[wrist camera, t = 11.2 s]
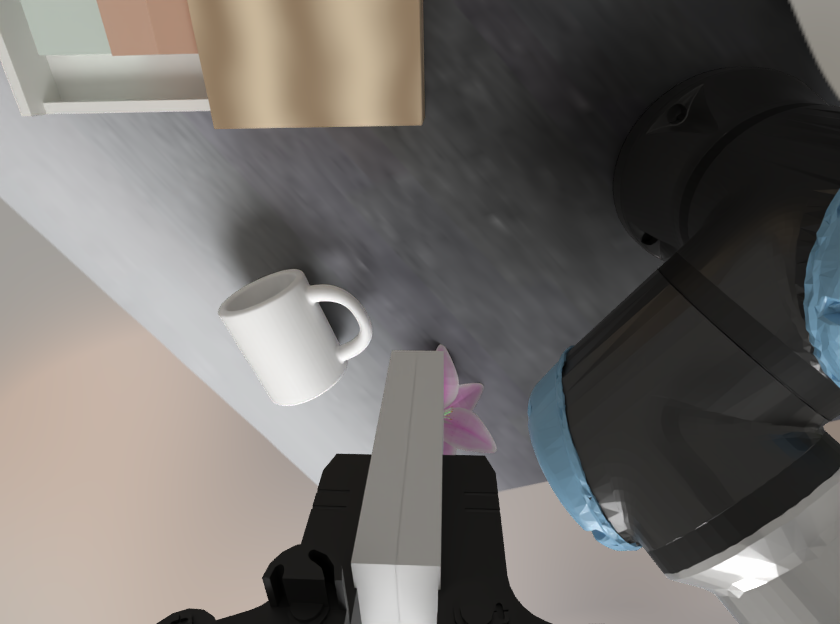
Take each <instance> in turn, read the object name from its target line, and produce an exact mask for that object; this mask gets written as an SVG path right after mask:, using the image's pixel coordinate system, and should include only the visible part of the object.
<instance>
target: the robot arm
mask: <svg viewBox="0 0 840 624" xmlns="http://www.w3.org/2000/svg"><path fill="white" fill-rule="evenodd" d="M613 195H614V202H615V207H616V211H617V214H618V216H619V219H620V221H621V223H622V225H623V226H624V228H625V229H626V231H627V232H628V233H629V234H630V236H631V237H632V238H633V239H634V240H635V241H636V242H637V243H638V244H639V245H640V246H641V247H643V248H644V249H645V250H646V251H647V252H649V253H650V254H652V255H653V256H655V257H657V258H659V259H661V260H663V261H665V263H664V264H663V265H662V266H661V267H660V268H659V269H657V270H656V271H655V272H654V273H653V274H652V275H651V276H650V277H648V278H647V279H646V280H645V281H644V282H643V283H642V284H641V285H640V286H639V287H638V288H637V289H635V290H634V291H633V292H632V293H631V294H630V295H629V296H628V297H627V298H626V299H625V300H624V301H623V302H621V303H620V304H619V305H618V306H617V307H616V308H615V309H614V310H613V311H612V312H611V313H610V314H608V315H607V316H606V317H605V318H604V319H603V320H602V321H601V322H600V323H599V324H598V325H597V326H596V327H594V328H593V329H592V330H591V331H590V332H589V333H588V334H587V335H586V336H585V337H584V338H583V339H581V340H580V341H579V342H578V343H577V344H576V345H575V346H572V345H571V346H570V347H569V348H567V349H566V350H565V351H564V352H563V354H562V355H561V358H560V360H559V361H558V362H557V363H556V364H555V365H554V367H553V368H552V369H551V370H550V371H549V372H548V373H547V374H546V375H545V376H544V377H543V378H542V379H541V380H540V381H539V382H538V383H537V384H536V386H535V387H534V389H533V391H532V393H531V395H530V398H529V402H528V417H529V421H528V429H529V434H530V438H531V442H532V445H533V449H534V451H535V454H536V457H537V460H538V462H539V464H540V467H541V469H542V471H543V473H544V475H545V477H546V479H547V480H548V482H549V484H550V486H551V488H552V489H553V491H554V493H555V494H556V496H557V497H558V499H559V500H560V502H561V503H562V505H563V506H564V507H565V509H566V510H567V511H568V512H569V514H570V515H571V516H572V517H573V519H574V520H575V521H576V522H577V523H578V524H579V525H580V526H581V527H582V528H583V529H584V530H586V531H592V533H593V535H594V537H595V539H596V540H597V541H598V542H600V543H601V544H603V545H605V546H606V547H608V548H611V549H614V550H617V551H627V550H638V549H640V548H641V547H643V548H644V549H645V550H646V551H647V553H648V554H649V555H650V556H651V558H652V559H653V560H654V562H655V563H656V564H657V565H658V567H659V568H660V569H661V571H662V572H663V573H664V574H665V576H666V577H667V578H668V579H670V580H674V581H678V582H681V583H685V584H689V585H693V586H696V587H700V588H704V589H706V590H708V591H710V592H712V593H713V594H715V595H716V596H717V597H718V599H719V600H720V601H721V602H722V603H723V605H724V606H725V607H726V608H727V610H728V611H729V612H730V613H731V615H732V616H733V617H734V618H735V619H736V621H737V622H738V623H739V624H840V444H839V443H838V442H837V441H836V440H835V439H833V438H832V437H831V436H830V435H829V434H828V433H827V432H826V431H825V430H824V428H823V426H824V425H825V424H827V423H828V422H829V421H832V420H833V419H834V418H836V417H837V416H839V415H840V106H831V105H828V104H827V103H826V102H825V101H823V100H822V99H821V98H820V97H819V96H818V95H817V94H815V93H814V92H813V91H812V90H811V89H810V88H809V87H808V86H807V85H805V84H804V83H803V82H801V81H800V80H798V79H796V78H794V77H792V76H790V75H788V74H785V73H783V72H779V71H776V70H772V69H766V68H754V67H729V68H721V69H717V70H712V71H709V72H705V73H702V74H700V75H697V76H695V77H692V78H690V79H688V80H686V81H684V82H682V83H680V84H679V85H677V86H675V87H674V88H672V89H671V90H669V91H668V92H667V93H665V94H664V95H663V96H661V97H660V98H659V99H658V100H657V101H656V102H655V103H653V104H652V105H651V106H650V107H649V108H648V109H647V110H646V112H645V113H644V114H643V115H642V116H641V117H640V119H639V120H638V121H637V123H636V124H635V125H634V127H633V128H632V130H631V131H630V133H629V135H628V136H627V138H626V140H625V142H624V144H623V147H622V149H621V151H620V154H619V157H618V160H617V163H616V168H615V172H614V180H613ZM443 441H444V351H392V352H391V357H390V362H389V368H388V373H387V378H386V383H385V388H384V394H383V399H382V404H381V409H380V414H379V420H378V425H377V430H376V435H375V441H374V446H373V451H372V455H369V454H336V455H335V457H334V458H333V459H332V460H331V461H330V463H329V464H328V465H327V466H326V467H325V469H324V470H323V473H322V476H321V479H320V483H319V486H318V491H317V493H316V496H315V499H314V503H313V509H311V512H310V516H309V519H308V522H307V526H306V529H305V532H304V536H303V539H302V542H301V544H300V545H296V546H293V547H291V548H289V549H287V550H285V551H284V552H282V553H281V554H280V555H279V556H278V557H276V558H275V559H274V561H272V562H271V563H270V564H269V566H268V568H267V570H266V572H265V573H264V575H263V577H262V579H263V583H264V586H265V590H266V593H267V596H268V600H269V601H267V602H266V603H264V604H263V605H262V606H259V607H257V608H254V609H252V610H249V611H246V612H242V613H239V614H236V615H233V616H229V617H226V618H222V619H219V620H215V618H214V617H213V616H212V615H211V614H209V613H208V612H206V611H205V610H201V609H186V610H182V611H179V612H176V613H173V614H171V615H169V616H168V617H166V618H165V619H163V620H161V621H160V622H158V623H157V624H552V623H549V622H546V621H544V620H542V619H540V618H538V617H536V616H535V615H533V614H531V613H530V612H529V611H528V610H527V609H526V608H524V607H523V606H522V604H521V603H520V602H519V601H518V599H517V598H516V597H515V595H514V593H513V591H512V589H511V587H510V584H509V581H508V576H507V569H506V560H505V551H504V542H503V534H502V525H501V516H500V507H499V498H498V489H497V481H496V473H495V471H494V470H493V468H492V466H491V465H490V463H489V462H488V460H487V458H486V457H485V456H474V455H443Z"/></svg>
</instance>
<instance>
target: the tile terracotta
mask: <svg viewBox="0 0 840 624" xmlns="http://www.w3.org/2000/svg"><path fill="white" fill-rule="evenodd" d="M96 1H97V4H98V8H99V11H100V15H101V18H102V22H103V25H104V29H105V32H106V35H107V39H108V42H109V46H110V49H111V53H112V56H141V55H175V54H198V49H197V45H196V40H195V35H194V30H193V26H192V21H191V16H190V12H189V7H188V2H187V0H96Z"/></svg>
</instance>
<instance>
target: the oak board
mask: <svg viewBox="0 0 840 624" xmlns="http://www.w3.org/2000/svg"><path fill="white" fill-rule="evenodd" d="M187 2H188V7H189V12H190V16H191V21H192V26H193V30H194V35H195V40H196V45H197V49H198V54H199V59H200V63H201V68H202V73H203V78H204V82H205V87H206V92H207V96H208V101H209V106H210V110H211V115H212V120H213V125H214V129H239V128H294V127H349V126H404V125H422V124H423V121H424V118H425V91H424V32H423V0H187Z"/></svg>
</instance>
